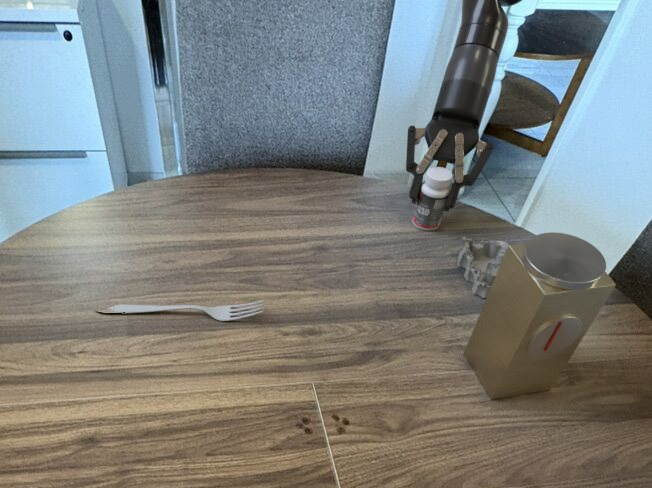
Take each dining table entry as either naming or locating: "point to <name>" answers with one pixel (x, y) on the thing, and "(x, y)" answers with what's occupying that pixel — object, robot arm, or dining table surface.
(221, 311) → the fork
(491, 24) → the robot arm
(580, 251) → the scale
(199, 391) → the dining table surface
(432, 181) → the pill bottle
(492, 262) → the egg carton
